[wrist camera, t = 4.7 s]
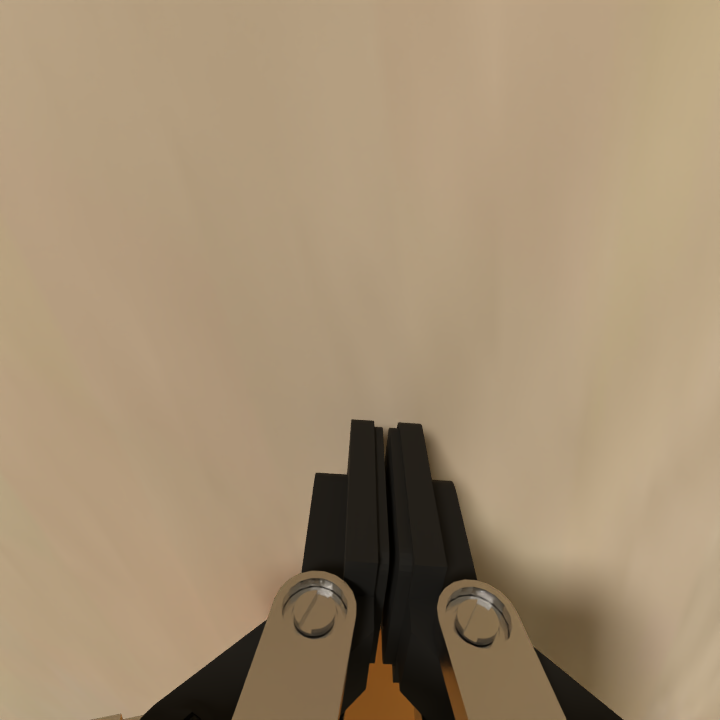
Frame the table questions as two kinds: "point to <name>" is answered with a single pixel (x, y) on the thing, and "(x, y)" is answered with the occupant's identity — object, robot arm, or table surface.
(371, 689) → the ball
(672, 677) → the table surface
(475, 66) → the table surface
